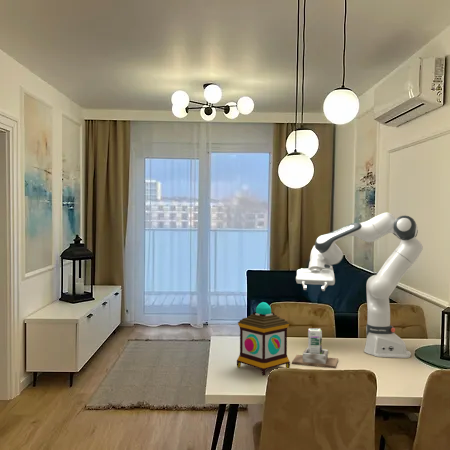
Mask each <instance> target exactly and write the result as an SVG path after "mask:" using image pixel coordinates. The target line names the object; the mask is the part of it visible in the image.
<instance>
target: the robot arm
mask: <svg viewBox="0 0 450 450" xmlns="http://www.w3.org/2000/svg"><path fill="white" fill-rule="evenodd" d="M418 231H419V230H418V224H417V223H416V221H415V219H414V218H413V217H411V216H409V215H400V216H398V217H395V215H393V214H392V213H391V212H387V211H386V212H382V213H380V214H378V215H376V216H373V217H372V218H370V219H368V220H365V221H362V222H353V223H350V224H347V225H345V226H342V227H340V228H337V229H336V230H333V231H331V232H328V233H324V234H321V235H319V236H317V238H316V239H315V242H314V245H313V246H312V249H311V251H310V256H309V263H308V268H303V267H301V268H299V269H297V270H296V276H295V281H296V284H300V285H302V287H303V291H307V285H322V286H321V291H322V292H325V291H326V288H327V287H328V286H334V285H335V283H336V278H335V273H334V272H335V271H334V268H333V267H334V266H333V265H338V264H339V263H341V261H342V260H343V258H344V252H343V250H341V248H340V247H339V246H338V245H337V243H336V242H338V241H342V240H343V239H346V238H348V237H351V236H352V237H355V238H358V239H360V240H362V241H363V242H367V243H373V242H376V241H377V240H380V239H381V238H382V237H384V236H386V235H388V234H391V233H392V234H393V235H394V236H395V237H396V238H397V239H399V240H400V243H399V244H398V246H397V247H396V248H395V249H394V251H392V253H391V254H390V255H389V256H388V258H387V259H386V260H385V261H384V262H383V263H384V264H383V265H382V266H381V268H380V269H379V271H378V272H377V274H374V275H370V277H368V279H367V280H366V286H365V287H366V305H367V313H366V314H367V322H366V325H365V326H366V327H365V328H366V329H365V330H366V331H365V332H366V340H365V347H364V349H363V352H364V353H366V354H368V355H372V356H375V357H377V358H399V359H401V358H402V359H409V358H410V357H411V356H412V355H411V354H412V353H411V351H410V350H408V349H407V347H406V342H405V341H404V339H402V338H401V337H400V336H399V335H397V334H396V333H395V332H396V328H395V327H394V326H393V325H391V306H390V296H391V294H392V293H393V292H394V290H395V289H396V288H397V286H398V284H400V282H401V280H402V278H403V277H404V276H405V274H406V273H408V271H409V269H410V268H412V266H413V265H414V264H415V263H416V261H417V259H418V258H419V257H420V255H421V253H422V251H423V244H422V243H421V241H420V240H419V239H418V238H417V236H418Z"/></svg>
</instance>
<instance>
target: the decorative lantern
mask: <svg viewBox="0 0 450 450" xmlns="http://www.w3.org/2000/svg"><path fill="white" fill-rule="evenodd" d="M237 325H238V327H239V355H238V357H237V360H236V367H237V368H238V369H239V368H241V366H242V365H241V364H244V365H246V366H250V367H252V368H256V369H259V370H260V371H261V374H262V376H263V377H265V376H266V372H267V370H269V369H273V368H275V367H281V366H284V365H285V368H286V369H287V368H289V369H290V368H291V361H290V359H289V357H288V328H289V326H290V322H288V320H285V318H282V317H279V316H278V315H277V314H276V313H275V312H272V308H271V306H270V304H268V303H267V302H264V301H262V302H260V303H258V305H257V306H256V308H255V311H254V312H252V313H251V314H250V315H248V316H247V317H242V318H241V319H240V320H239V321H237Z"/></svg>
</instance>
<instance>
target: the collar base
mask: <svg viewBox="0 0 450 450" xmlns="http://www.w3.org/2000/svg"><path fill="white" fill-rule="evenodd" d="M338 362H339V358H337V357H329V350H328V349H323V348H322V354H311V353H308V347H306V348H305V349H304V351H303V352H302V354H296V355H295V357H294V358H293V360H291V364H292V365H301V366H308V367H320V368H321V367H322V368H330V369H336V367H337V365H338Z"/></svg>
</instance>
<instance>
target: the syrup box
mask: <svg viewBox="0 0 450 450" xmlns="http://www.w3.org/2000/svg"><path fill="white" fill-rule="evenodd" d="M307 341H308V342H307V343H308V345H307V346H308V347H307V348H308V353H311V354H322V349H323V346H322V345H323V331H322V328H308V331H307Z"/></svg>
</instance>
